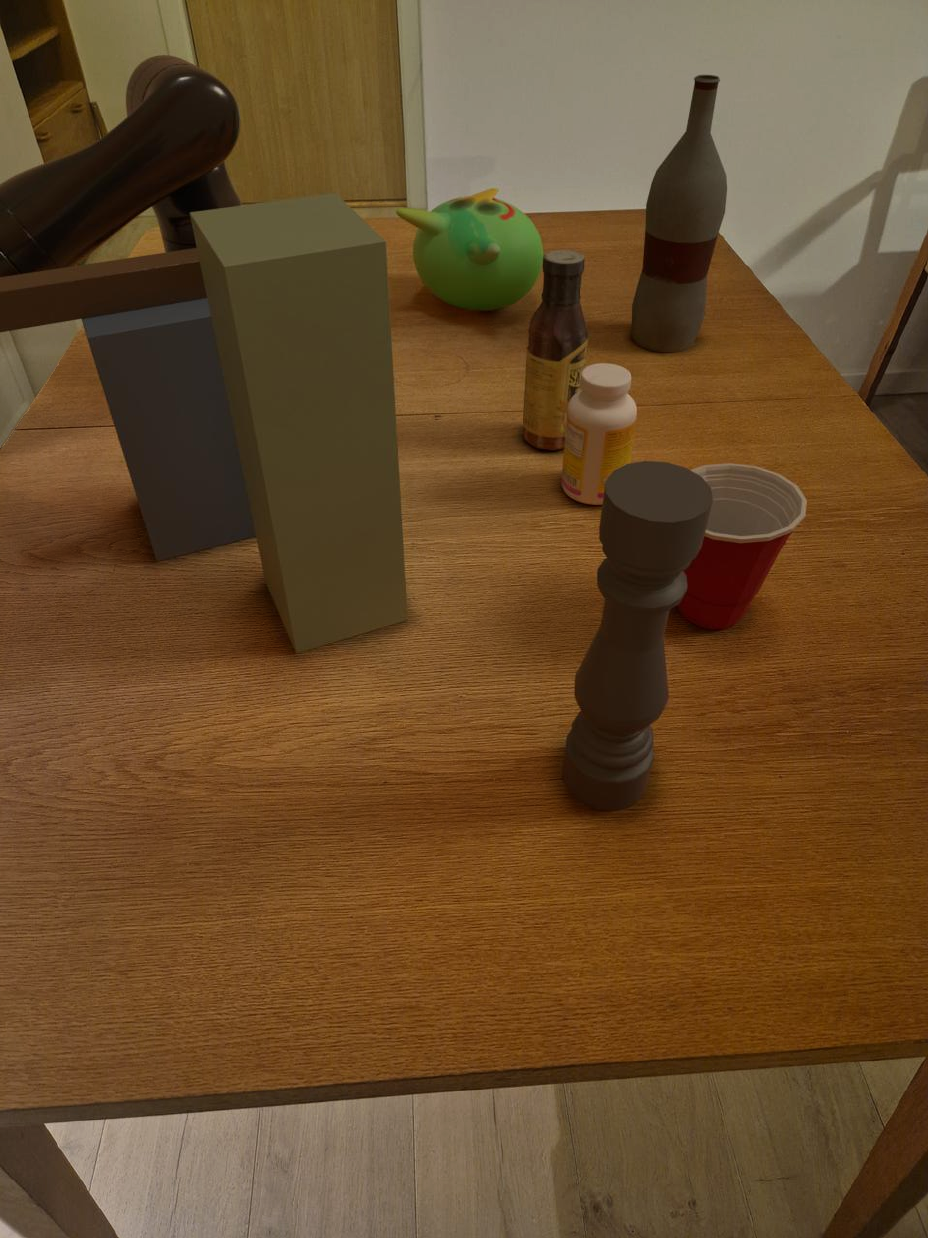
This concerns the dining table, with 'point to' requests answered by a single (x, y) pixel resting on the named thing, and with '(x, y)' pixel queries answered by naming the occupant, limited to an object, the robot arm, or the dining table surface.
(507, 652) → the dining table surface
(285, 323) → the tall stand
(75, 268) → the bar
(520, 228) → the toy bird
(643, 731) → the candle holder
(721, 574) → the plastic cup
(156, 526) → the blue gray rectangular block
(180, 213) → the robot arm
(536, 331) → the sauce bottle
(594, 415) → the supplement bottle
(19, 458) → the dining table surface
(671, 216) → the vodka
